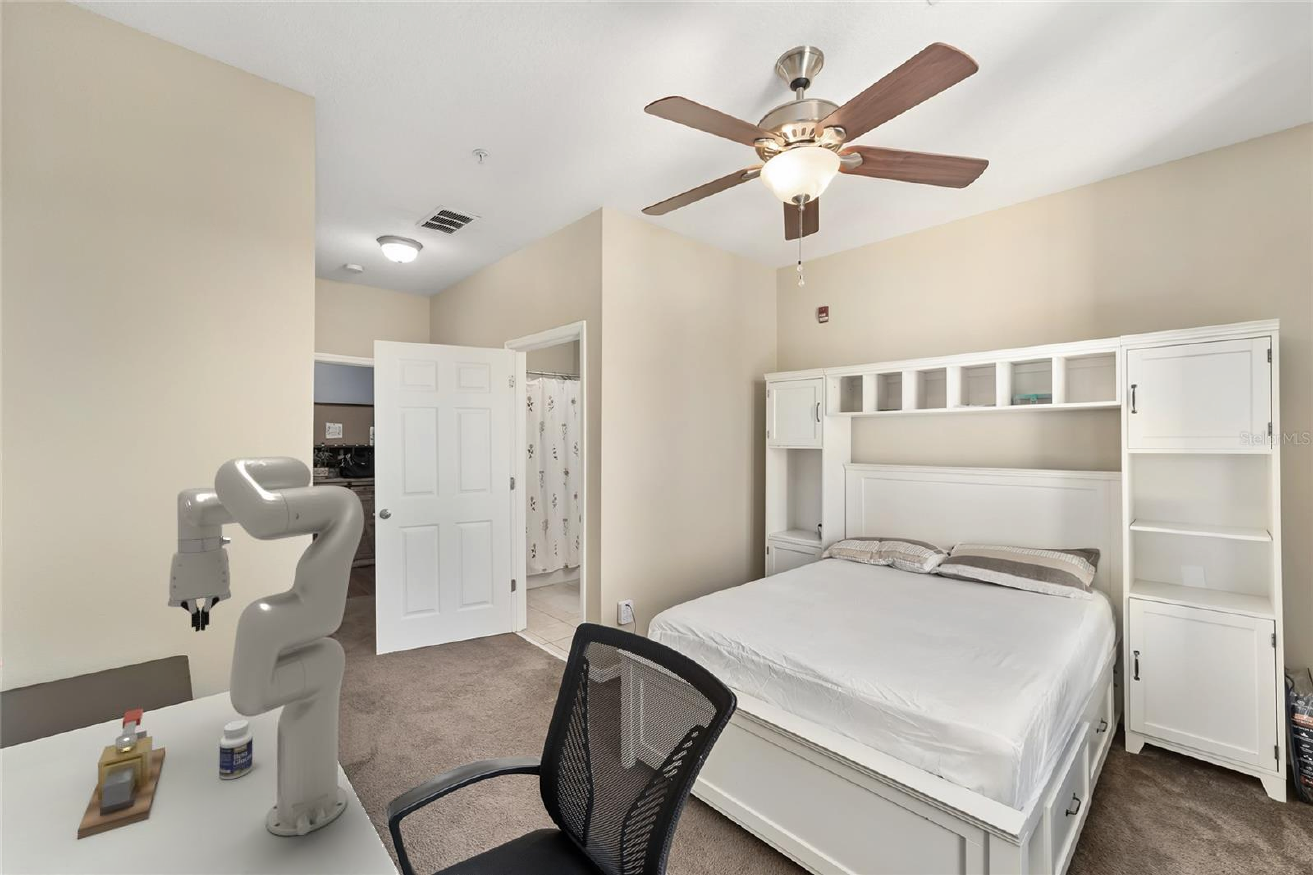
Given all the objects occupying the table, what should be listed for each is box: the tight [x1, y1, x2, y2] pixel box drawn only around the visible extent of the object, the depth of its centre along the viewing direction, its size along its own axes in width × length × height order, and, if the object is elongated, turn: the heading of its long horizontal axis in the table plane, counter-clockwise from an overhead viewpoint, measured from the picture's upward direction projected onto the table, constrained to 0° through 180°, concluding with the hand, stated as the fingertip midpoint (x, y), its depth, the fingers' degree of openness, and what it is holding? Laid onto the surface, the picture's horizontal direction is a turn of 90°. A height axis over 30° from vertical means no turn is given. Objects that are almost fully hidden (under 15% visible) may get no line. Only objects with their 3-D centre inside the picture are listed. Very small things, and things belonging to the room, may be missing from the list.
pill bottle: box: [218, 719, 254, 780], centre depth 115 cm, size 5×5×10 cm
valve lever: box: [115, 707, 144, 752], centre depth 113 cm, size 14×3×2 cm, turn 38°
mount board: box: [77, 746, 166, 840], centre depth 108 cm, size 24×9×2 cm, turn 36°
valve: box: [97, 730, 153, 816], centre depth 108 cm, size 20×7×7 cm, turn 36°
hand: (200, 629), depth 123 cm, fingers closed
